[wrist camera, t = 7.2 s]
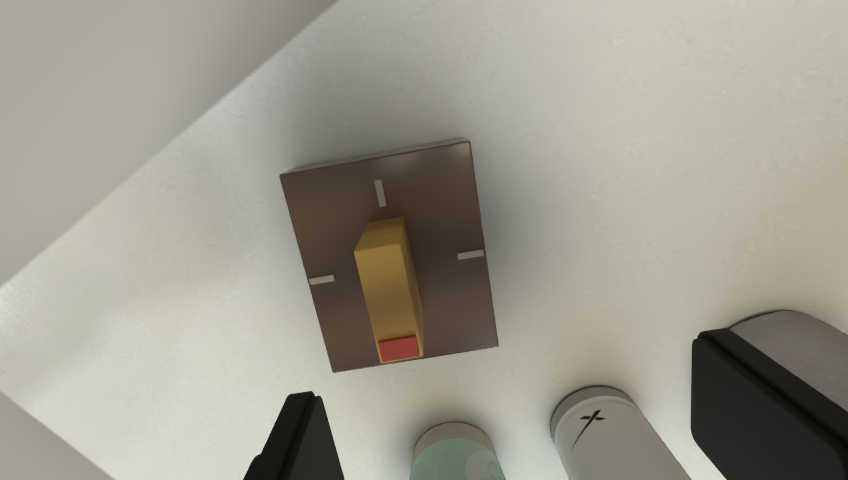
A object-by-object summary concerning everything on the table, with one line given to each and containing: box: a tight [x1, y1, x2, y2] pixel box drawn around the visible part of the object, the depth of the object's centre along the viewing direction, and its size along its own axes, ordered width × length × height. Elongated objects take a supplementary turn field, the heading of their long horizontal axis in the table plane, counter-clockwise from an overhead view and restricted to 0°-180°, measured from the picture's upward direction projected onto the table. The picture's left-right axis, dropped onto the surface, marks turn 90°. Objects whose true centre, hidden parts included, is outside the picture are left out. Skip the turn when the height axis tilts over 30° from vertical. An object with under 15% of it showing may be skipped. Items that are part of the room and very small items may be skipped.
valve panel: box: [280, 138, 499, 373], centre depth 25 cm, size 12×10×3 cm
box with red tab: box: [354, 216, 423, 363], centre depth 21 cm, size 6×2×5 cm, turn 10°
